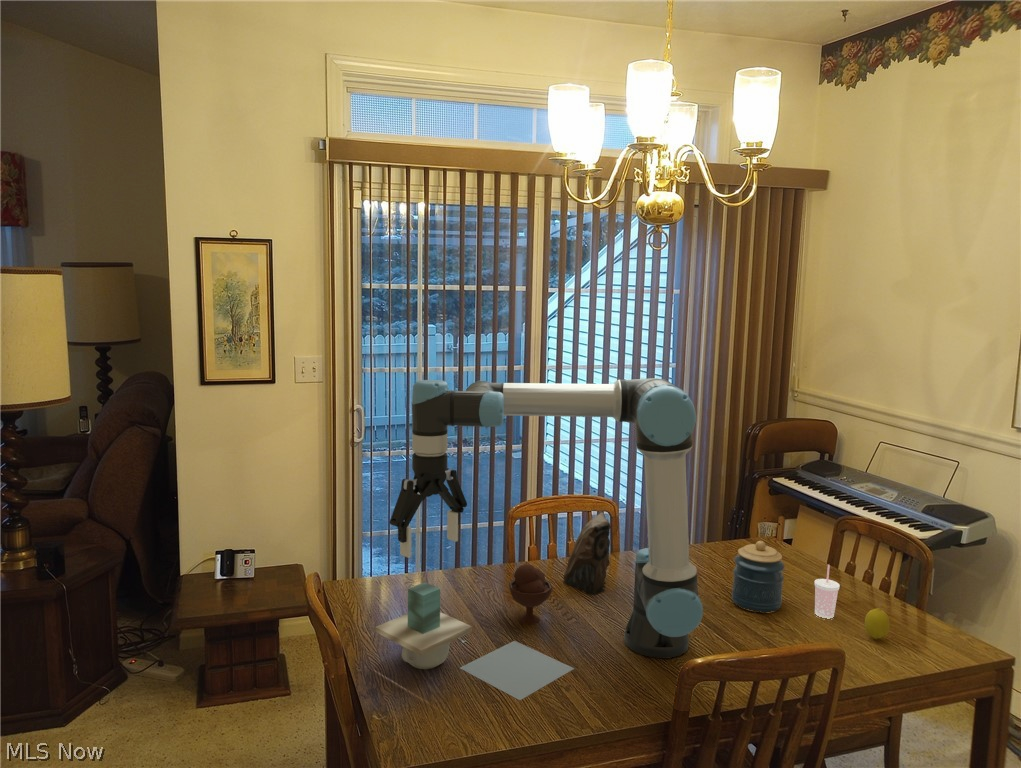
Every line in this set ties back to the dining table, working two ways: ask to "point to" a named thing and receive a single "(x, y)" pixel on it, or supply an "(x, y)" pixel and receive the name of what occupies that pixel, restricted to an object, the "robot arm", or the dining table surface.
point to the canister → (758, 578)
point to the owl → (590, 557)
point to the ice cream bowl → (529, 590)
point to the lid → (423, 622)
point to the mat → (517, 669)
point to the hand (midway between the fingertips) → (429, 547)
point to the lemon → (877, 623)
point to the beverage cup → (825, 596)
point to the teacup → (426, 657)
